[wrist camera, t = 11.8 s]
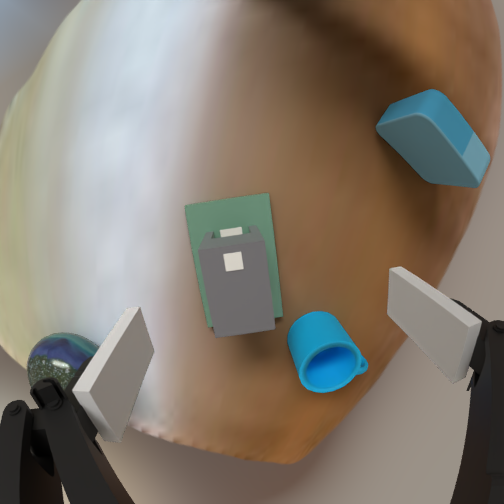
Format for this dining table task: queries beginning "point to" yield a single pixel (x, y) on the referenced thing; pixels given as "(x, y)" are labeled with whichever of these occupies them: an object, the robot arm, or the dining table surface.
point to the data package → (435, 139)
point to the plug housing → (237, 283)
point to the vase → (59, 357)
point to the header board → (234, 223)
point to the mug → (324, 352)
